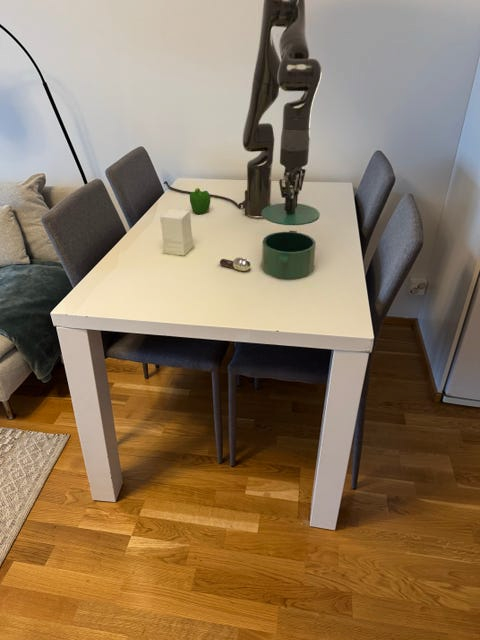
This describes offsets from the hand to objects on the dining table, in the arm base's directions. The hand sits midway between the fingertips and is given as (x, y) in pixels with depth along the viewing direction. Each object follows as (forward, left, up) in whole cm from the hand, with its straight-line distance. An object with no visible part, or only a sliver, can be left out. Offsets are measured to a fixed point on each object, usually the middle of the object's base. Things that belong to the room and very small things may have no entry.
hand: (290, 209), depth 128 cm
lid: (0, 0, -2) cm, 2 cm away
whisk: (-14, -8, -18) cm, 25 cm away
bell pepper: (-50, +29, -19) cm, 61 cm away
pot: (0, 0, -18) cm, 18 cm away
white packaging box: (-37, -5, -19) cm, 42 cm away
